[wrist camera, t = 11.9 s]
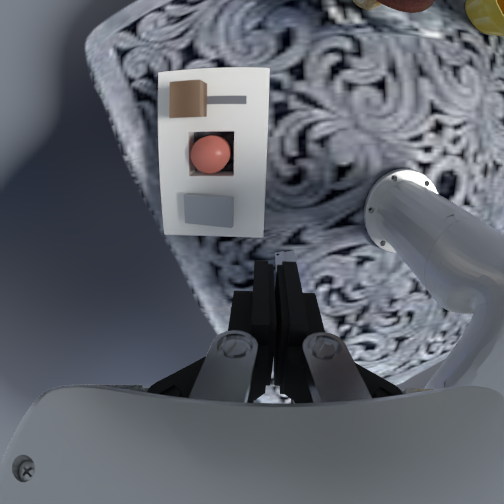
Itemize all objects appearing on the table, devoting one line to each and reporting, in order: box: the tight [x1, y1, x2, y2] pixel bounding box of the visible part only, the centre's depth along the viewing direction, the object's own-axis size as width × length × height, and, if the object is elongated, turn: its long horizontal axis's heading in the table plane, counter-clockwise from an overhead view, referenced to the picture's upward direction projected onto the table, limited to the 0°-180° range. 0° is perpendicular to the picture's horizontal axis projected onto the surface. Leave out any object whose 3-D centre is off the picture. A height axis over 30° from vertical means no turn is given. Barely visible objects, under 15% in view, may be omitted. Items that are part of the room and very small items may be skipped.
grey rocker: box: [184, 193, 234, 228], centre depth 34 cm, size 6×4×1 cm, turn 89°
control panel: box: [158, 67, 270, 238], centre depth 34 cm, size 13×21×4 cm, turn 179°
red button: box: [191, 135, 231, 173], centre depth 33 cm, size 4×4×3 cm
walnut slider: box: [169, 80, 207, 118], centre depth 28 cm, size 3×4×4 cm
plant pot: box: [465, 0, 504, 36], centre depth 17 cm, size 10×10×10 cm
